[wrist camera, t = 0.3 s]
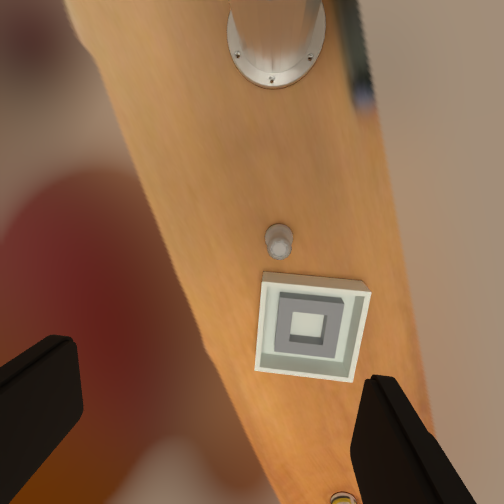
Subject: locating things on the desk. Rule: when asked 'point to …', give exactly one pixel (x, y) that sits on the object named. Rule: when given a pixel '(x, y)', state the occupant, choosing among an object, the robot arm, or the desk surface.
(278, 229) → the rook chess piece
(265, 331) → the box
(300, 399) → the desk surface
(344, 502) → the supplement bottle
